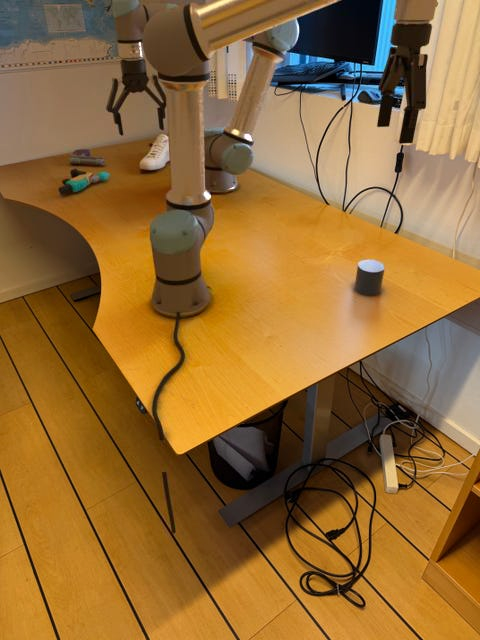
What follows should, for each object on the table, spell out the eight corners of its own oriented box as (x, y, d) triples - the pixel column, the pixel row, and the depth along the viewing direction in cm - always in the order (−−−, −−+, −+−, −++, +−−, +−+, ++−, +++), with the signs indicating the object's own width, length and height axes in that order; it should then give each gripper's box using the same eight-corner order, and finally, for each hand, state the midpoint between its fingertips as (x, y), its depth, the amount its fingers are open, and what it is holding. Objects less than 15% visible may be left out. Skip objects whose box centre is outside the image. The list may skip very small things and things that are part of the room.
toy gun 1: (116, 157, 226) (102, 168, 214) (79, 155, 229) (64, 165, 217) (114, 149, 224) (100, 159, 212) (78, 147, 227) (62, 157, 215)
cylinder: (383, 285, 131) (387, 262, 127) (376, 298, 126) (381, 274, 122) (358, 279, 134) (362, 257, 129) (351, 291, 129) (354, 268, 124)
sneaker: (133, 173, 208) (129, 144, 201) (161, 153, 230) (158, 127, 223) (155, 175, 205) (151, 146, 198) (180, 155, 227) (178, 129, 220)
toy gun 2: (37, 182, 187) (65, 188, 181) (83, 164, 205) (110, 169, 200) (39, 193, 189) (67, 200, 184) (85, 174, 208) (111, 179, 202)
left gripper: (461, 27, 84) (434, 150, 96) (406, 17, 104) (389, 119, 116) (421, 28, 83) (398, 151, 96) (373, 18, 103) (359, 121, 116)
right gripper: (93, 63, 136) (106, 139, 149) (175, 57, 145) (181, 129, 157) (88, 60, 142) (101, 133, 154) (167, 54, 150) (174, 124, 163)
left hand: (393, 134), depth 106 cm, fingers open, 13 cm apart
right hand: (141, 131), depth 156 cm, fingers open, 13 cm apart
